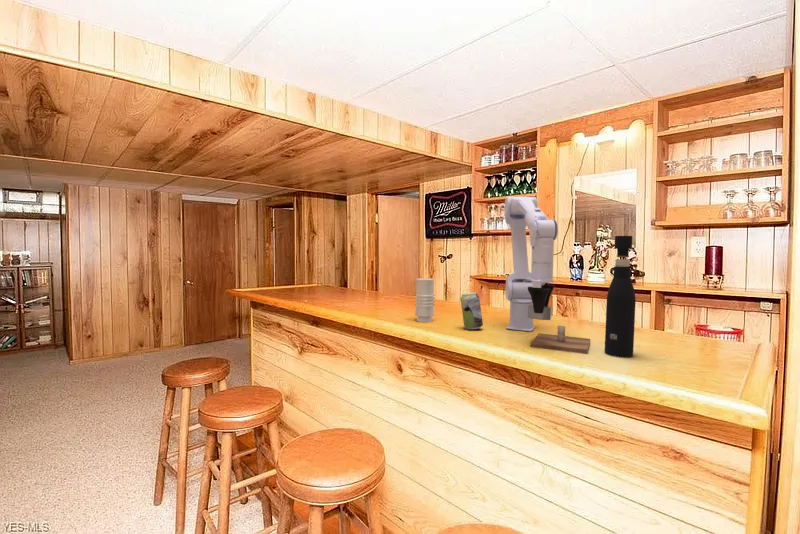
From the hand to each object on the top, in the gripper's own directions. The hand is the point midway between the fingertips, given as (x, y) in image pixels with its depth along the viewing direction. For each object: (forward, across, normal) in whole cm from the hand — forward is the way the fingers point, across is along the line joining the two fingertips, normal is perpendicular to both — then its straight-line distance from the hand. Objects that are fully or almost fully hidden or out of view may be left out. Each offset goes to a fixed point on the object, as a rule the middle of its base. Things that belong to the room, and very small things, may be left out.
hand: (540, 311), depth 111 cm
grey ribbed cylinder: (+9, -12, -42) cm, 45 cm away
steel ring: (+2, 0, 0) cm, 2 cm away
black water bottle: (+9, +1, +19) cm, 22 cm away
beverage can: (+9, -8, -23) cm, 26 cm away
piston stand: (+9, -1, +5) cm, 10 cm away
